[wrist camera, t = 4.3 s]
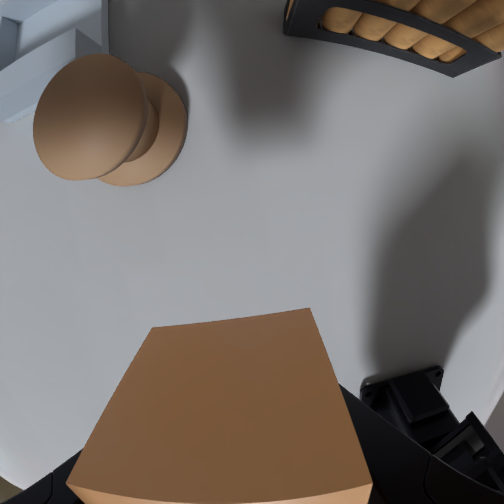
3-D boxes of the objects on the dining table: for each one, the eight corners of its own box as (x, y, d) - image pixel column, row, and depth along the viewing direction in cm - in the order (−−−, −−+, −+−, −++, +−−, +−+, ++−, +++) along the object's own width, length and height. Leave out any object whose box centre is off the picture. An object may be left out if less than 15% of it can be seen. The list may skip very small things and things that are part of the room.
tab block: (317, 420, 8) (347, 561, 4) (191, 432, 9) (164, 567, 4) (309, 307, 7) (372, 483, 3) (152, 327, 8) (65, 483, 3)
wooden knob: (195, 172, 15) (166, 172, 10) (94, 195, 16) (34, 209, 10) (179, 64, 14) (147, 21, 8) (81, 96, 14) (23, 76, 9)
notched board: (110, 77, 14) (75, 57, 10) (11, 123, 14) (-29, 119, 10) (109, -31, 12) (84, -60, 8) (17, 18, 12) (-15, 3, 8)
